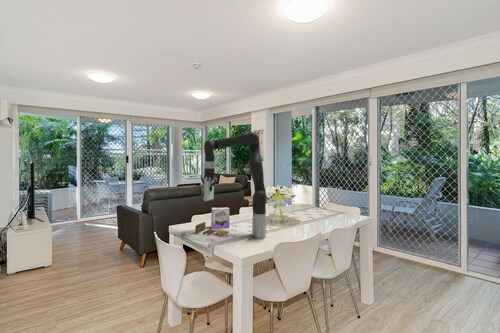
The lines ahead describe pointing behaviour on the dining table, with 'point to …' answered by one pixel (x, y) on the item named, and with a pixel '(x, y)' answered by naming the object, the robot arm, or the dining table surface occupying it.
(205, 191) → the sage sheet
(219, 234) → the board
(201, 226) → the walnut rack
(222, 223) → the candy box
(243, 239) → the dining table surface
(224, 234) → the offcut top
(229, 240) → the dining table surface
